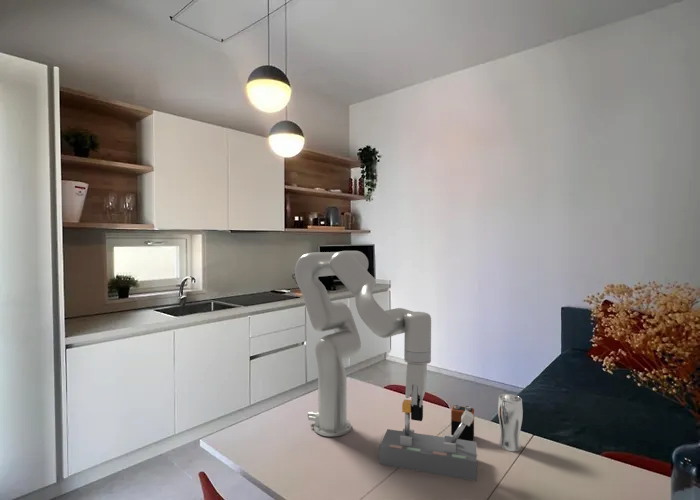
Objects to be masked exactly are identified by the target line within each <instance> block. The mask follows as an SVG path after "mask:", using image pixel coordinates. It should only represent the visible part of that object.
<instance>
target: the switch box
mask: <svg viewBox="0 0 700 500" xmlns="http://www.w3.org/2000/svg"><path fill="white" fill-rule="evenodd" d="M452 436H453V435H451V434H446V433H445V434H444V436H437V435H431V434H424V433H418V432H415V429H412V428H410V437H408V436H405V427H404V428H402V430H396V429H388V428H387V430H386V431H385V434H384V436H383V438H382V440H381V443H380V444H379V448H378V449H379V453H378V454H379V457H378V458H379V463H378V464H379V465H382V466H387V467H393V468H399V469H405V470H411V471H418V472H422V473H428V474H433V475H440V476H445V477H452V478H456V479H457V478H458V479H464V480H469V481H474V482H475V481H476V482H477V480H478V479H477V478H478V477H477V473H478V472H477V471H478V470H477V467H478V466H477V465H478V464H477V462H478V460H477V459H478V458H477V441H474V440H473V441H467V440H462V439H457V440H456V442H455V443H449V441H450V439H451V438H452Z"/></svg>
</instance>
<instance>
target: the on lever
mask: <svg viewBox="0 0 700 500" xmlns="http://www.w3.org/2000/svg"><path fill="white" fill-rule="evenodd" d="M473 420H474V421H475V414H474V415H473V414H472V413H470V412H469V411H467V410H465V411H464V413H463V415H462V416H461V421H462V422H461V424H460V425H459V427H458V428H457V430H456V432H455V433H454V435H453V436H452V438H451V439H450V441H449V443H455V442H456V440H457V439H458V437H459V436H460V434H461V432H462V431H463V429H464V428H465V426H466V425H468V426H470V424H471V423H472V421H473Z"/></svg>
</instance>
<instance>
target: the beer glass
mask: <svg viewBox="0 0 700 500" xmlns="http://www.w3.org/2000/svg"><path fill="white" fill-rule="evenodd" d="M523 410H524V409H523V399H522V398H521V397H520V396H518V395H516V394H511V393H503V394H499V395H498V402H497V415H498V423H499V428H500V438H499V439H500V440H499V447H500V448H501V449H503V450H505V451H508V452H512V453H514V452H515V453H516V452H520V451H521V448H522V447H521V441H520V440H521V439H520V435H521V430H522V428H521V427H522V424H523V413H524V411H523Z"/></svg>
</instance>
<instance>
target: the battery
mask: <svg viewBox="0 0 700 500" xmlns="http://www.w3.org/2000/svg"><path fill="white" fill-rule="evenodd" d="M465 410H467V411H469V412H470V413H472V414H473V415H474V416H475V409H474V408H473V407H472V406H470V405H464V406H463V405H461V406H460V405H459V404H454V405H452V406H451V411H450V418H451V419H450V421H451V422H450V426H451V427H450V430H451V431H450V432H451V433H450V435H454V433H455V432H456V430H457V428H458V427H459V425H460V424H461V422H462V421H461V416H462V415H463V413H464V411H465ZM474 437H475V419H474V420H473V421H472V423H471V424H470V426H468V425H466V426H465V428H464V429H463V431H462V432H461V434H460V436H459V437H458V439H460V440H467V441H474Z"/></svg>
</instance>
